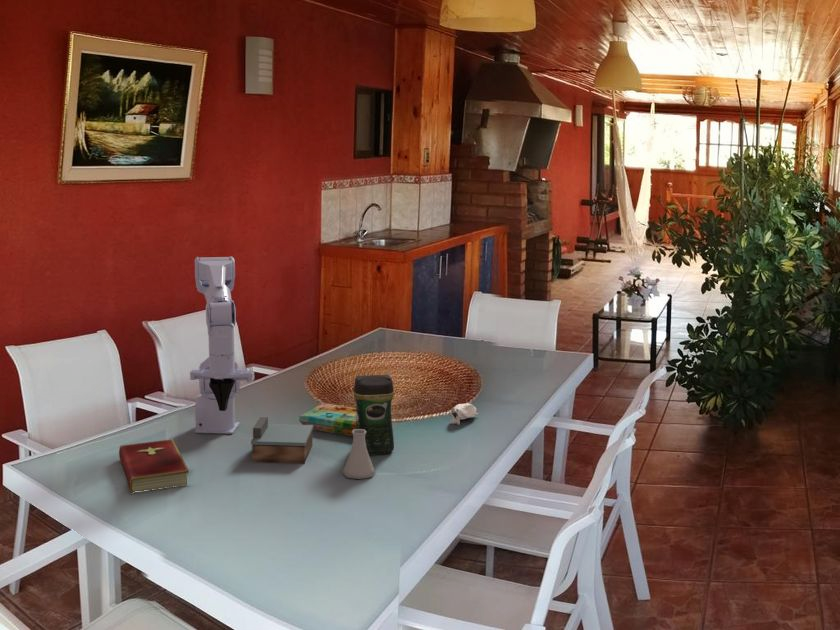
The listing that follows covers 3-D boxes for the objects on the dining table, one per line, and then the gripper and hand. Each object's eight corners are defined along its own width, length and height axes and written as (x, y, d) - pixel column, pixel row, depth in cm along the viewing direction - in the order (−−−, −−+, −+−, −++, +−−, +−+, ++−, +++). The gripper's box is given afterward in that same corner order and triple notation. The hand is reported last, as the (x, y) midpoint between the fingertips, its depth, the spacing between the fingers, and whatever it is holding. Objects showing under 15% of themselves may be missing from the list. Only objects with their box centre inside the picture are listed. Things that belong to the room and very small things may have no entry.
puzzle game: (321, 400, 229) (389, 410, 222) (321, 417, 230) (389, 428, 223) (299, 412, 219) (369, 423, 211) (299, 430, 220) (369, 442, 212)
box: (252, 462, 197) (252, 445, 196) (263, 443, 208) (262, 428, 208) (304, 463, 196) (304, 447, 196) (312, 445, 208) (312, 429, 207)
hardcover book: (130, 496, 178) (129, 477, 177) (119, 462, 196) (118, 444, 196) (189, 488, 183) (188, 469, 182) (173, 455, 201) (172, 438, 201)
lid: (251, 444, 196) (250, 431, 195) (262, 426, 208) (262, 414, 207) (305, 446, 195) (305, 432, 195) (313, 428, 208) (313, 415, 207)
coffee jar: (390, 443, 211) (391, 370, 207) (396, 455, 203) (397, 379, 199) (351, 445, 209) (351, 371, 205) (355, 457, 201) (355, 380, 197)
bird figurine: (468, 431, 225) (481, 412, 233) (462, 409, 222) (475, 390, 231) (451, 432, 227) (464, 413, 235) (445, 409, 225) (458, 391, 233)
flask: (342, 468, 195) (342, 425, 193) (374, 467, 195) (375, 425, 193) (342, 480, 187) (342, 436, 185) (375, 480, 188) (375, 436, 186)
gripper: (185, 356, 194) (187, 414, 197) (249, 358, 194) (250, 415, 197) (194, 349, 201) (196, 404, 204) (255, 350, 201) (256, 406, 204)
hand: (223, 409), depth 201 cm, fingers closed
